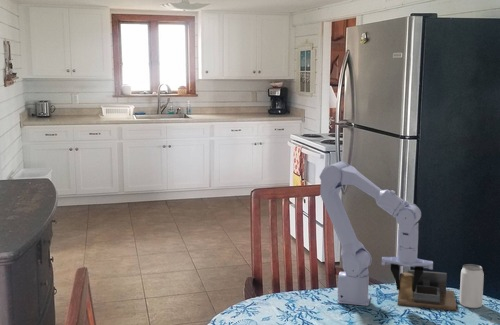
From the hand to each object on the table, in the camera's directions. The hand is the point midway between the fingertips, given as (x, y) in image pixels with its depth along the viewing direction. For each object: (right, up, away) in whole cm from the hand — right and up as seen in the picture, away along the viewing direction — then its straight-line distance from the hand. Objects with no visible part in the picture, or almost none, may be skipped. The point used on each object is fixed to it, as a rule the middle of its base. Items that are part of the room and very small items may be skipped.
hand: (406, 289), depth 165 cm
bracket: (+9, -5, +9) cm, 14 cm away
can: (+21, -6, +5) cm, 23 cm away
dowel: (0, -2, 0) cm, 2 cm away
